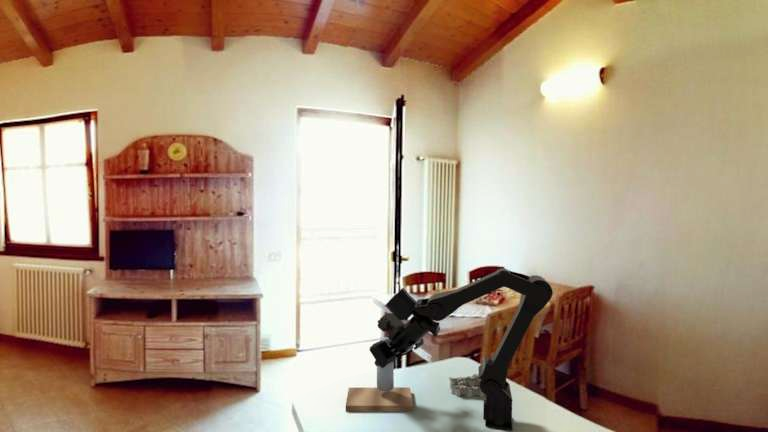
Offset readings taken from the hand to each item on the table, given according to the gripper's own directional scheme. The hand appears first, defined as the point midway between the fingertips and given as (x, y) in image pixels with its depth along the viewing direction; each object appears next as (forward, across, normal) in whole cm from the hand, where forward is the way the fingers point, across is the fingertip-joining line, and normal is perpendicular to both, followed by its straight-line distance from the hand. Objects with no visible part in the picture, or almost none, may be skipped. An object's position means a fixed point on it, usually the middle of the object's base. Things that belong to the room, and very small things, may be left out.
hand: (381, 361), depth 111 cm
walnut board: (+7, +2, +8) cm, 11 cm away
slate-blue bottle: (+4, 0, +6) cm, 7 cm away
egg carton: (-5, -18, +21) cm, 28 cm away
